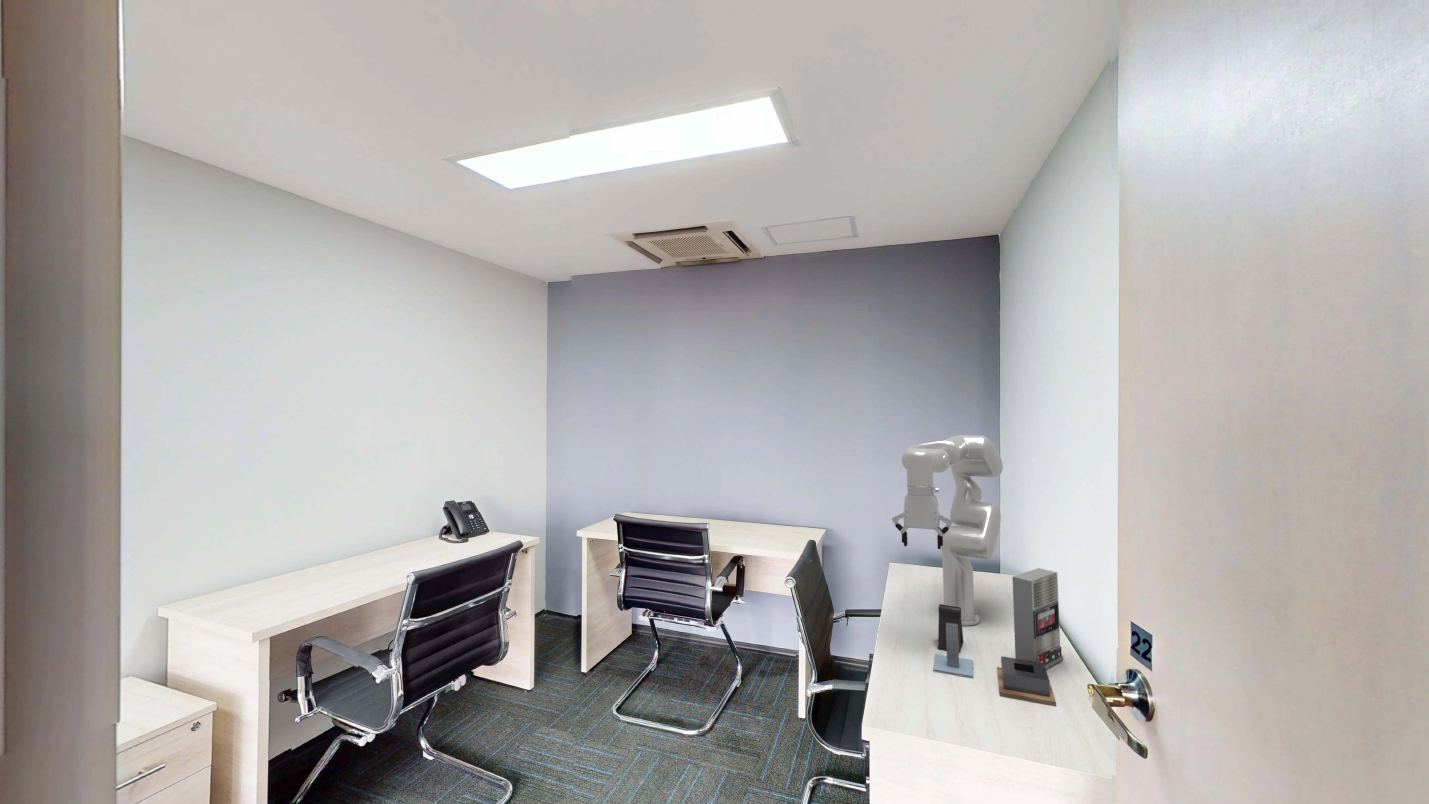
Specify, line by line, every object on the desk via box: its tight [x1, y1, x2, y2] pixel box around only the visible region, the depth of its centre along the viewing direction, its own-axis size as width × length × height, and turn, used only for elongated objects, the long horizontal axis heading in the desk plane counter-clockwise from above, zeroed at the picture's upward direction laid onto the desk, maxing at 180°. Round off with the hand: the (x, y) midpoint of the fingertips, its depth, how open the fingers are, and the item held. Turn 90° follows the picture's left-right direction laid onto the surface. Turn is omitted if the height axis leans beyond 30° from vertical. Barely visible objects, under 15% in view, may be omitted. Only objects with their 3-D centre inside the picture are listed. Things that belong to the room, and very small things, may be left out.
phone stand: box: [937, 603, 964, 654], centre depth 162 cm, size 9×6×12 cm, turn 147°
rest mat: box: [932, 653, 974, 679], centre depth 149 cm, size 10×10×1 cm
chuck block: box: [1000, 655, 1050, 697], centre depth 137 cm, size 10×10×4 cm
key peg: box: [946, 623, 960, 668], centre depth 149 cm, size 3×3×11 cm
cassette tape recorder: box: [1012, 567, 1064, 669], centre depth 150 cm, size 14×6×25 cm, turn 121°
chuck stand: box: [996, 666, 1057, 707], centre depth 137 cm, size 14×12×1 cm
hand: (922, 546), depth 163 cm, fingers open, 9 cm apart
